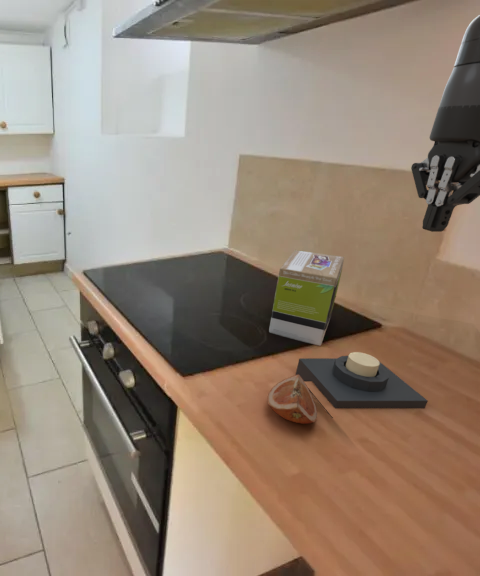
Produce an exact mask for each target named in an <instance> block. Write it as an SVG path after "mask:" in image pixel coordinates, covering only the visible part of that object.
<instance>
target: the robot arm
mask: <svg viewBox="0 0 480 576" xmlns="http://www.w3.org/2000/svg"><path fill="white" fill-rule="evenodd" d="M456 55H457V56H456V59H455V62H454V64H453V68H452V71H451V72H450V75H449V78H448V79H447V82H446V84H445V87H444V90H443V93H442V96H441V99H440V102H439V105H438V109H437V112H436V115H435V118H434V121H433V124H432V128H431V131H430V134H429V140H430V141H431V142H434V143H433V145H432V147H431V148H430V150H429V151H428V154H427V157H426V158H425V159H423V160H422V161H421V162H414V163H413V164H411V167H410V168H411V169H410V170H411V173H412V177H413V181H414V186H415V188H416V193H417V197H418V198H419V199H424V200H425V202H426V205H427V207H426V210H425V214H424V216H423V219H422V226H421V227H422V229H423V230H425V231H429V232H432V233H433V232H436V233H438V232H439V233H440V232H443V231H445V229H446V228H447V227H448V225H449V223H450V220H451V217H452V215H453V211H454V209H455V208H456V207H457V206H461V205H470V204H471V203H472V202H474V201H475V200H476V199H477V198H479V197H480V14H478V15H477V16H476V17H475V18H473V20H471V22H470V23H469V24H468V26H467V27H466V30H465V32H464V34H463V37H462V40H461V43H460V46H459V48H458V52H457V54H456Z"/></svg>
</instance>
